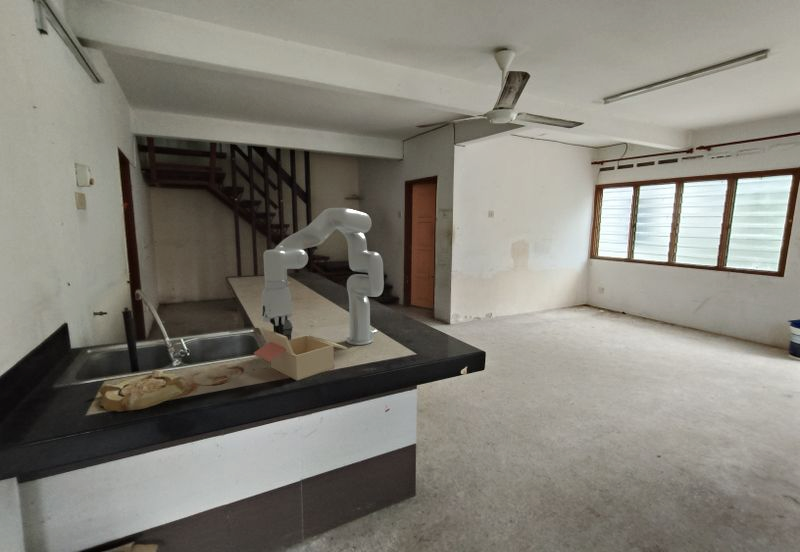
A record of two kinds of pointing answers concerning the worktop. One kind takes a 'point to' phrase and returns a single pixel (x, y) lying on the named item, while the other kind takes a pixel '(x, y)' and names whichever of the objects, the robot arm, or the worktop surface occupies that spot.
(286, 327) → the grey vase with twigs
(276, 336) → the flap
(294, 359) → the carton
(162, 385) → the tan brown flat piece
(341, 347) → the rear flap
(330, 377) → the worktop surface
